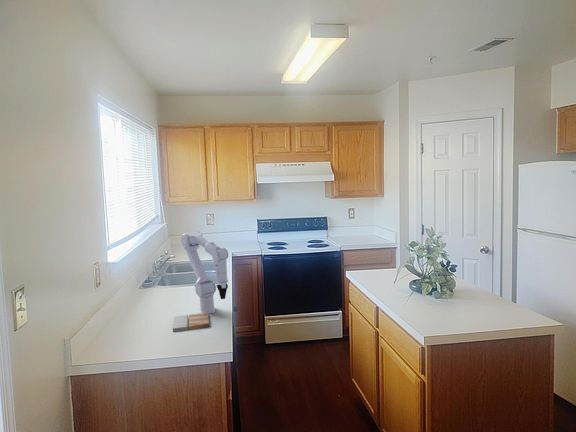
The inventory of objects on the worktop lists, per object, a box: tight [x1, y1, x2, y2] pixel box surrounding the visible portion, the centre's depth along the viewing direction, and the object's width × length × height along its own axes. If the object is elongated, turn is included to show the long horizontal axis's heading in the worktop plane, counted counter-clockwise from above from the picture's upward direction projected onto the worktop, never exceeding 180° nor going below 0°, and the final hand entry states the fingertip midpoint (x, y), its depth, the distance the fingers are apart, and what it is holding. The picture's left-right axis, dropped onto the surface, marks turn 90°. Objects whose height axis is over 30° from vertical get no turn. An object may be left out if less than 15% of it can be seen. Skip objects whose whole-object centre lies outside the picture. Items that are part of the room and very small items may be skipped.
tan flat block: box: [188, 312, 210, 330], centre depth 213 cm, size 18×10×2 cm, turn 13°
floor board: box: [172, 314, 189, 332], centre depth 211 cm, size 18×7×2 cm, turn 13°
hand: (222, 298), depth 218 cm, fingers closed
